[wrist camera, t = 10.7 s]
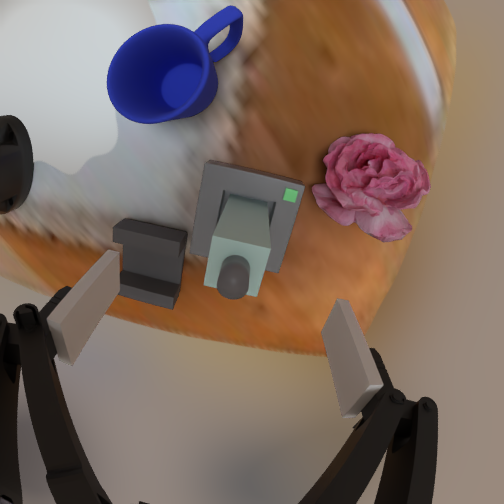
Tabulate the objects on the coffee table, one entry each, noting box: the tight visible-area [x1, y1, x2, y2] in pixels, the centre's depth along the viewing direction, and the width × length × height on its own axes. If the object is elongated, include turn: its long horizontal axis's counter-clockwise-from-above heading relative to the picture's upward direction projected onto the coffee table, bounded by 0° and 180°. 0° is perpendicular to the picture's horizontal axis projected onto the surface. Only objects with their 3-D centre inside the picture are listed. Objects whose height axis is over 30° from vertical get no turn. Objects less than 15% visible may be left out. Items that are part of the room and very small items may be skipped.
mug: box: [107, 6, 243, 124], centre depth 20 cm, size 8×12×10 cm
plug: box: [204, 194, 271, 299], centre depth 24 cm, size 4×4×14 cm
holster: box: [113, 218, 187, 310], centre depth 32 cm, size 8×9×4 cm
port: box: [190, 160, 305, 273], centre depth 30 cm, size 10×10×3 cm
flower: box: [312, 133, 431, 242], centre depth 25 cm, size 11×10×10 cm
